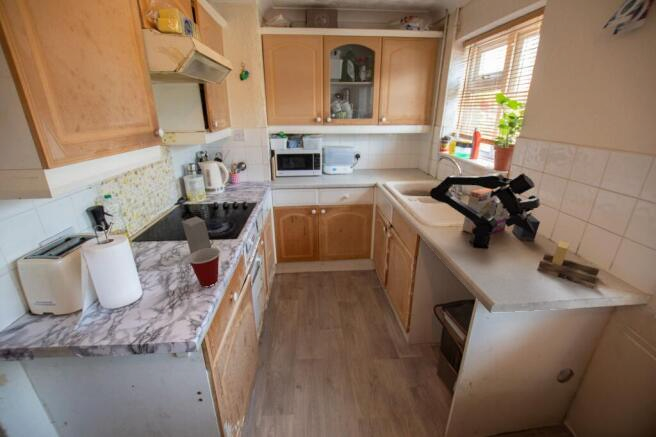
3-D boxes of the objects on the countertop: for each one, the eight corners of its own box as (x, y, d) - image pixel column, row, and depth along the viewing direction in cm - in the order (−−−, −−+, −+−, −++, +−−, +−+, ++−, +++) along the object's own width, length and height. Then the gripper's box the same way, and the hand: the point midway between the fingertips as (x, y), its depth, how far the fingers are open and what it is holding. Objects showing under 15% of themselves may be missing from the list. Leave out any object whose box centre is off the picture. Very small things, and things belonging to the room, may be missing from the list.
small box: (534, 242, 136) (541, 221, 132) (519, 241, 138) (525, 220, 134) (525, 232, 146) (531, 213, 142) (511, 231, 147) (516, 212, 143)
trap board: (537, 269, 114) (539, 261, 113) (543, 259, 122) (545, 252, 120) (593, 288, 103) (596, 279, 102) (596, 276, 111) (599, 267, 109)
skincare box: (213, 254, 125) (207, 220, 119) (196, 260, 120) (189, 225, 114) (204, 247, 130) (198, 215, 124) (188, 253, 125) (181, 219, 119)
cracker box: (472, 234, 143) (480, 194, 135) (461, 229, 148) (469, 190, 140) (489, 228, 150) (499, 189, 142) (479, 224, 154) (487, 186, 146)
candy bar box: (495, 226, 154) (503, 196, 147) (504, 229, 149) (512, 199, 143) (481, 230, 149) (488, 199, 143) (490, 233, 145) (498, 202, 138)
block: (550, 267, 113) (557, 246, 110) (553, 261, 117) (560, 240, 114) (559, 270, 111) (567, 248, 108) (562, 264, 115) (569, 243, 112)
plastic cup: (211, 271, 112) (206, 244, 108) (230, 279, 107) (226, 251, 103) (186, 286, 104) (179, 256, 99) (206, 295, 99) (200, 265, 94)
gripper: (522, 195, 108) (549, 231, 105) (534, 185, 120) (558, 217, 117) (494, 209, 116) (518, 243, 113) (508, 199, 128) (530, 229, 125)
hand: (532, 232), depth 117 cm, fingers closed
